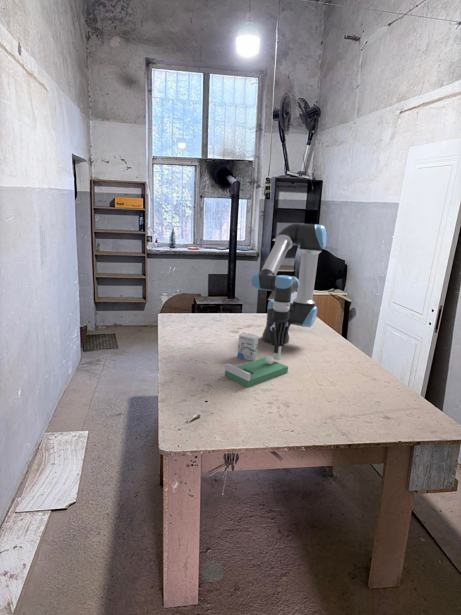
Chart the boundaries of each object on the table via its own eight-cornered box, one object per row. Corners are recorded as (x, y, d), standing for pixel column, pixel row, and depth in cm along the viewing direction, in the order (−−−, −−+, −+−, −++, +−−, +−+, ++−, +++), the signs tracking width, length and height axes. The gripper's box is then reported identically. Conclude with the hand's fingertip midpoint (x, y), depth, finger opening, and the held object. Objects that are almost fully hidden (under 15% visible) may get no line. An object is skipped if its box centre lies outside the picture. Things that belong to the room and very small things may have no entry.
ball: (263, 363, 194) (263, 355, 193) (268, 361, 196) (269, 353, 195) (269, 366, 191) (270, 358, 190) (275, 364, 193) (276, 356, 192)
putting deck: (224, 376, 185) (225, 363, 183) (264, 363, 202) (265, 351, 201) (247, 387, 175) (248, 374, 174) (287, 372, 193) (288, 360, 191)
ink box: (236, 357, 208) (238, 334, 205) (241, 354, 212) (242, 332, 209) (252, 361, 204) (254, 338, 201) (257, 358, 208) (258, 335, 205)
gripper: (278, 313, 184) (273, 364, 190) (296, 309, 193) (292, 358, 198) (265, 310, 189) (261, 359, 195) (284, 306, 198) (279, 353, 204)
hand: (276, 359), depth 197 cm, fingers closed
